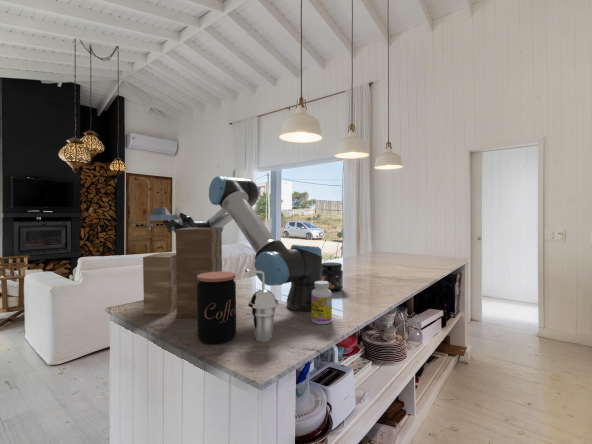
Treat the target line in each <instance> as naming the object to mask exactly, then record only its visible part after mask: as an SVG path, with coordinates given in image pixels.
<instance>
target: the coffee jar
mask: <svg viewBox="0 0 592 444" xmlns="http://www.w3.org/2000/svg"><path fill="white" fill-rule="evenodd" d="M236 276H237V275H236V273H234V272H232V271H222V272H207V273H202V274H199V275H197V280H198V281H199V282H198V284H197V318H196V319H197V320H196V321H197V322H196V323H197V324H196V325H197V339H199V341H200V342H201V343H203V344H205V345H220V344H221V345H222V344H226V343H228V342H230V341H232V340H234V337H235V335H237V290H236V289H237V288H236V287H237V286H236V284H237V283H236V281H235V278H236Z"/></svg>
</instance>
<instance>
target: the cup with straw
mask: <svg viewBox="0 0 592 444" xmlns="http://www.w3.org/2000/svg"><path fill="white" fill-rule="evenodd" d="M244 271H245V273H251V274H252V273H253V274H256V273H261V274H262V282H261V289H258V290H257V291H255V292H254V293H253V294H252V296H251V299H249V300H248V304H247V305H248V307H249V308H250V311H251V315H252V322H253V330H254V335H255V340H256V341H257V342H261V343H262V342H263V343H264V342H265V343H266V342H269V341H271V340H272V335H273V328H274V320H275V319H274V318H275V313H276V309H277V306H279V300H278V299H276V297H275V294H274V293H273V292H272V291H271V290H268V289H265V285H266V284H265V279H264V272H263V271H258V270H256V269H245V270H244Z"/></svg>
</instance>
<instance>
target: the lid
mask: <svg viewBox="0 0 592 444" xmlns="http://www.w3.org/2000/svg"><path fill="white" fill-rule="evenodd" d="M166 208H167V207H166ZM166 208H164V207H160V208H159V207H154V208H153V214H148V218H149V219H148V221H151V222H152V221H154V222H158V221H159V222H160V221H161V222H163V220H175V221H177V220H178V221H179V219H178V218H177V216H176V215H175V214H171V215H166Z"/></svg>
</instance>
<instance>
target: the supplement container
mask: <svg viewBox="0 0 592 444" xmlns="http://www.w3.org/2000/svg"><path fill="white" fill-rule="evenodd" d="M342 269H343V264H342V263H341V262H334V261H333V262H331V261H330V262H327V261H326V262H322V281H327V282H329V287H328V289H329V290H330V291H331V292H332V293H337V292H338V293H339V292H341V291H342V290H343V288H344V286H343V285H344V284H343V282H344V281H343V279H344V278H343V274H344V271H343V270H342Z"/></svg>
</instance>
